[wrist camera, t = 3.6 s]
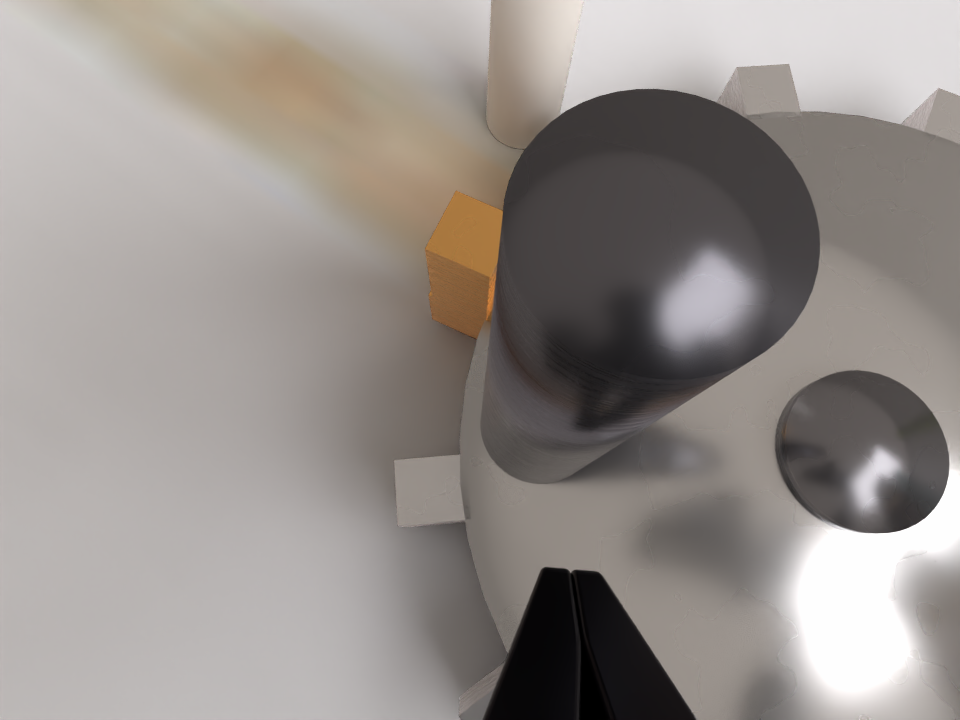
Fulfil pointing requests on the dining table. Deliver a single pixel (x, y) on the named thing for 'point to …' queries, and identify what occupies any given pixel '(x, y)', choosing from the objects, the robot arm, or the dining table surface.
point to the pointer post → (528, 65)
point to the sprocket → (720, 393)
